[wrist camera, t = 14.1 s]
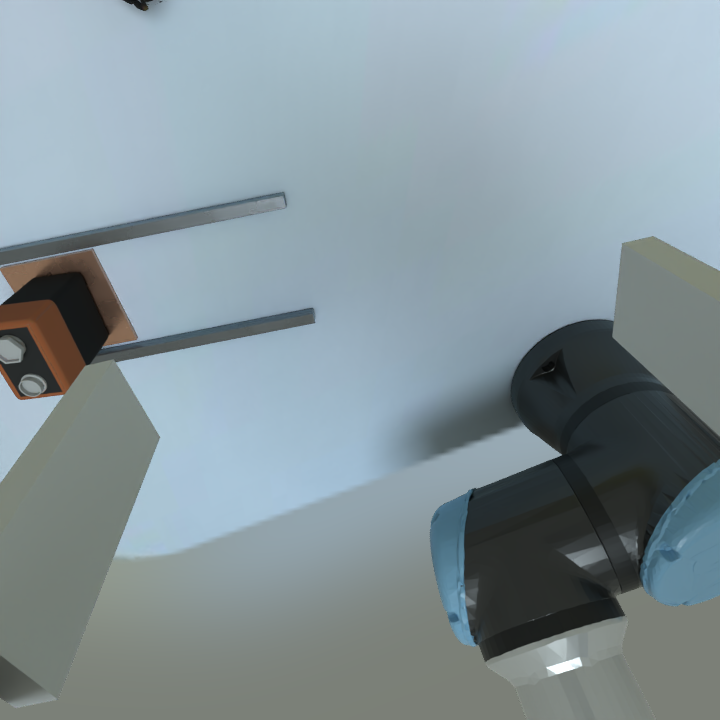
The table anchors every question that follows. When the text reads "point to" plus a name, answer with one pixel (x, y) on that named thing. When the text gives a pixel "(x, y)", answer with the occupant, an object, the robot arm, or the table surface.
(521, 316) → the table surface
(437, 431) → the table surface
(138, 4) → the dragon fruit
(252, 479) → the table surface
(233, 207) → the rail
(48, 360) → the battery
